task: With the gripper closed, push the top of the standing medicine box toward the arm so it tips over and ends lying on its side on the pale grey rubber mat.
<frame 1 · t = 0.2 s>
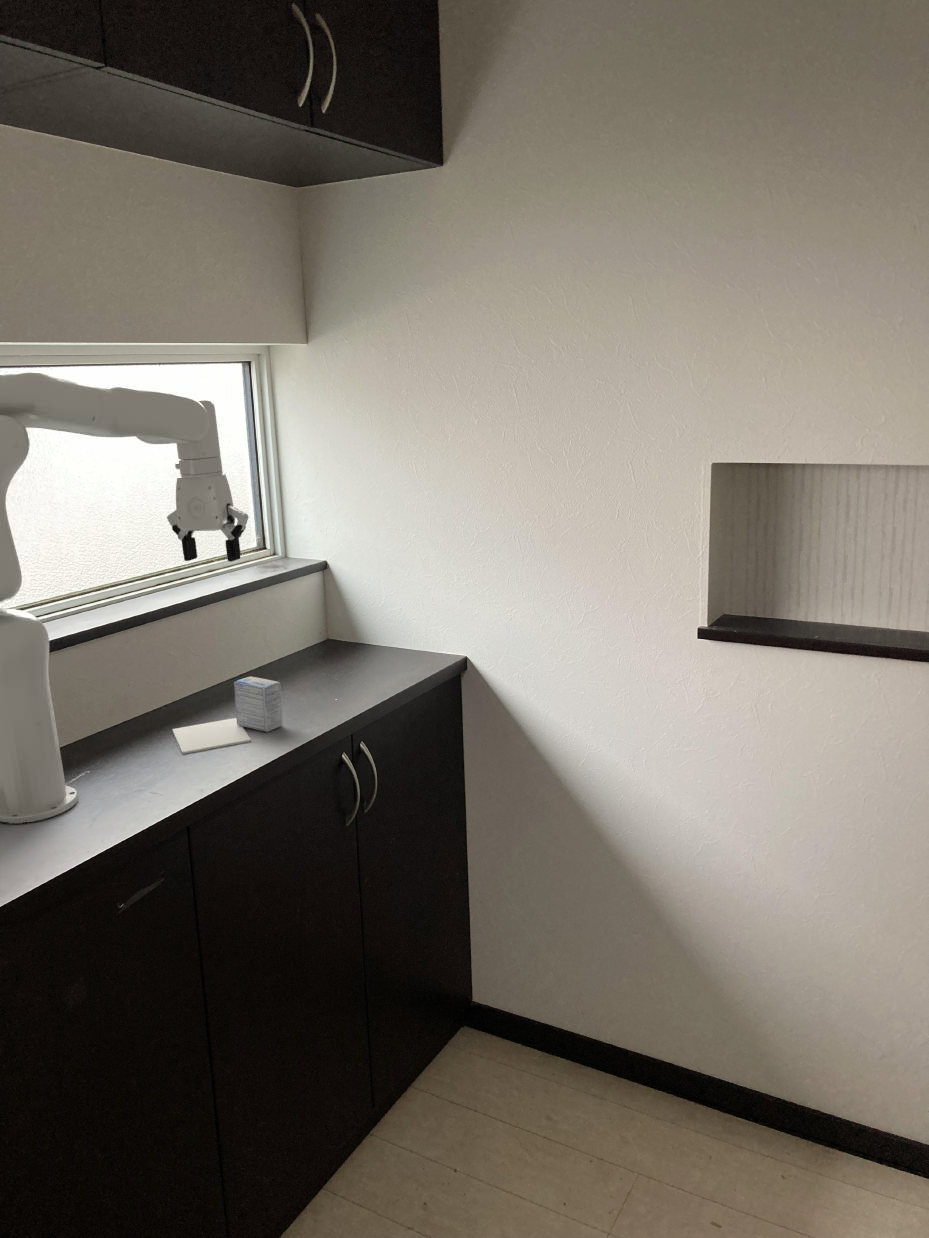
hand: (212, 559, 191), 31 cm above the worktop, tool pointing down, fingers open, 9 cm apart
medicine box: (259, 727, 190), on the worktop, touching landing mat
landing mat: (211, 736, 187), on the worktop
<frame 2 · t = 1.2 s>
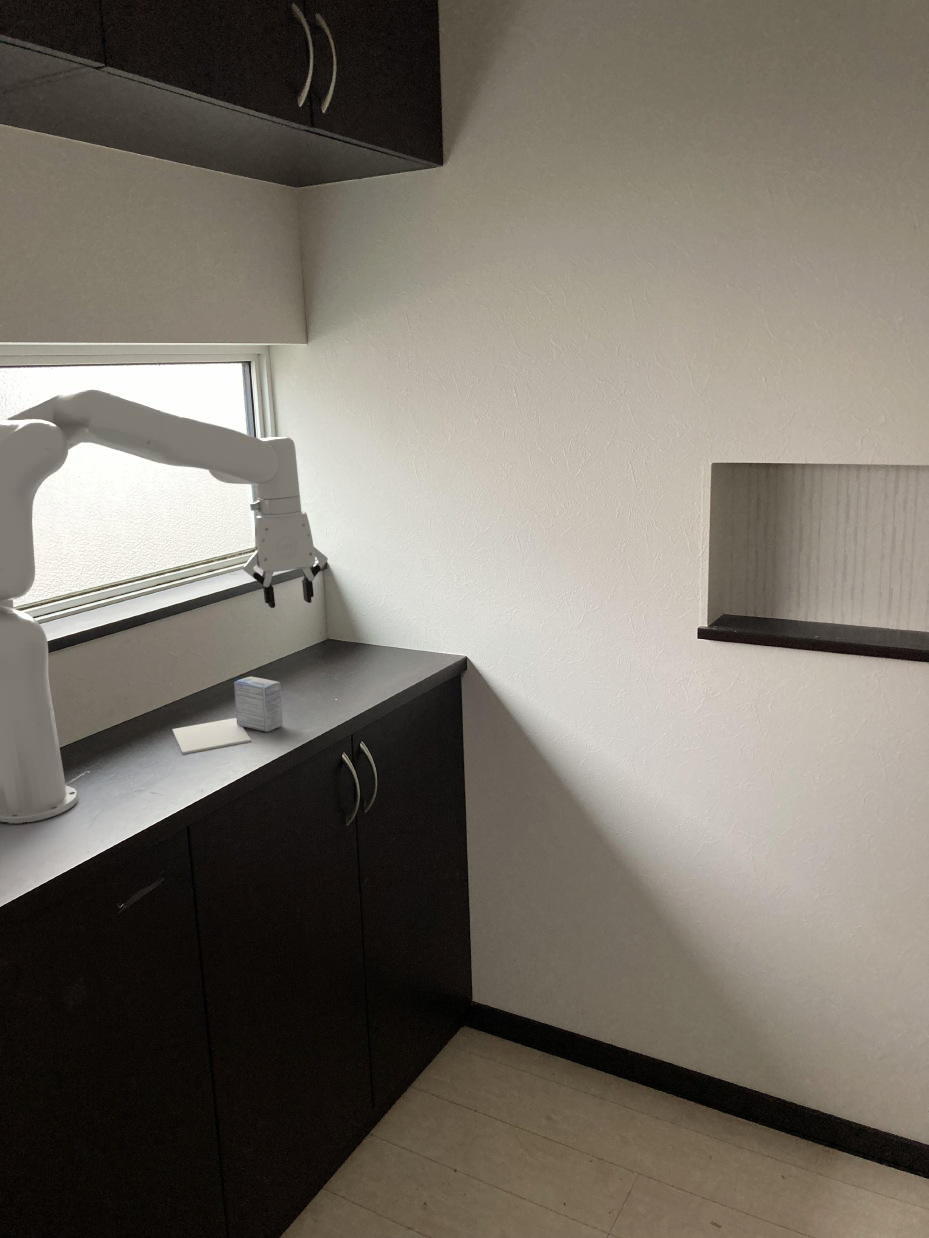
hand: (289, 603, 188), 23 cm above the worktop, tool pointing down, fingers open, 6 cm apart
nothing on the worktop moved.
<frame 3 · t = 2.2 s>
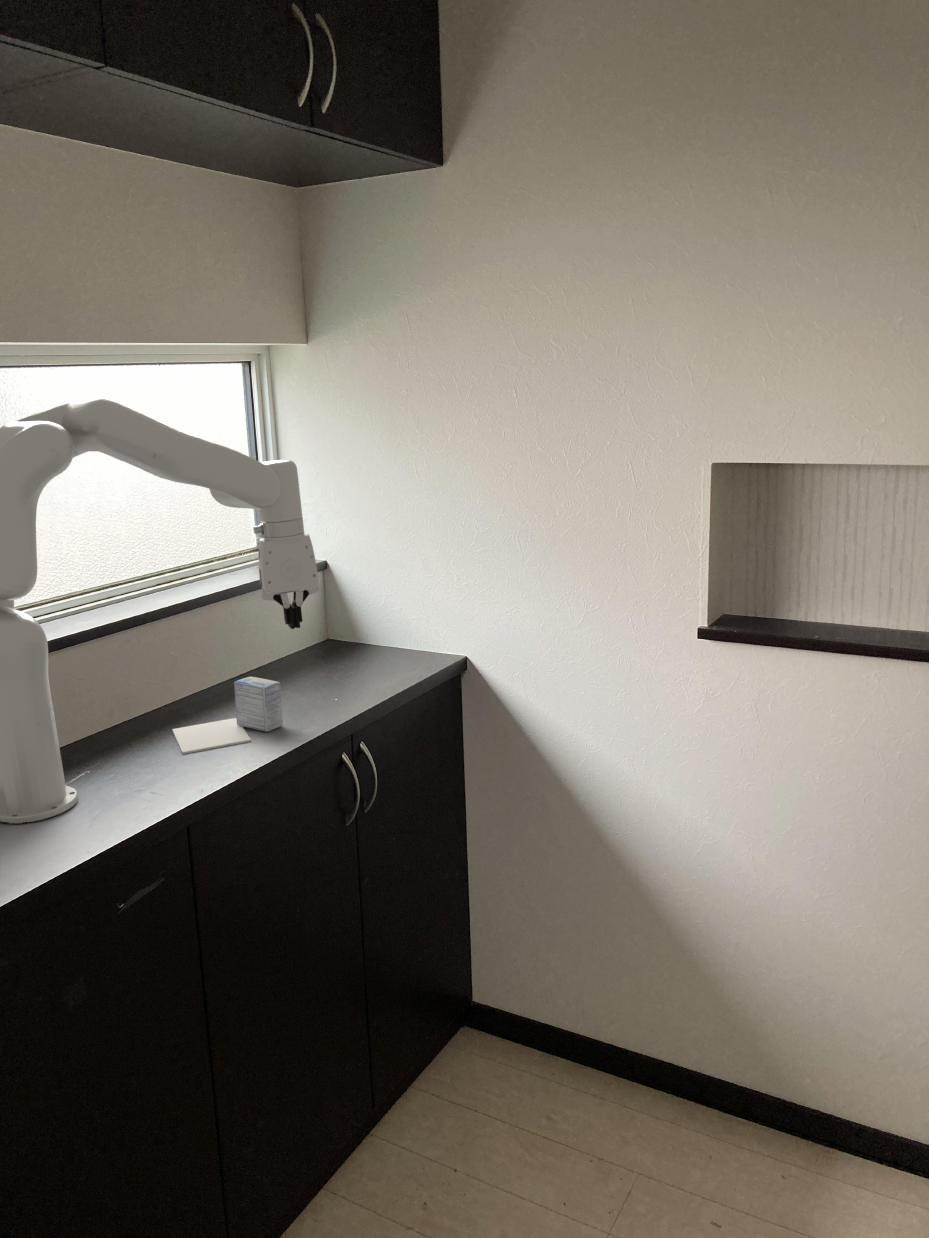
hand: (294, 626, 189), 18 cm above the worktop, tool pointing down, fingers closed
nothing on the worktop moved.
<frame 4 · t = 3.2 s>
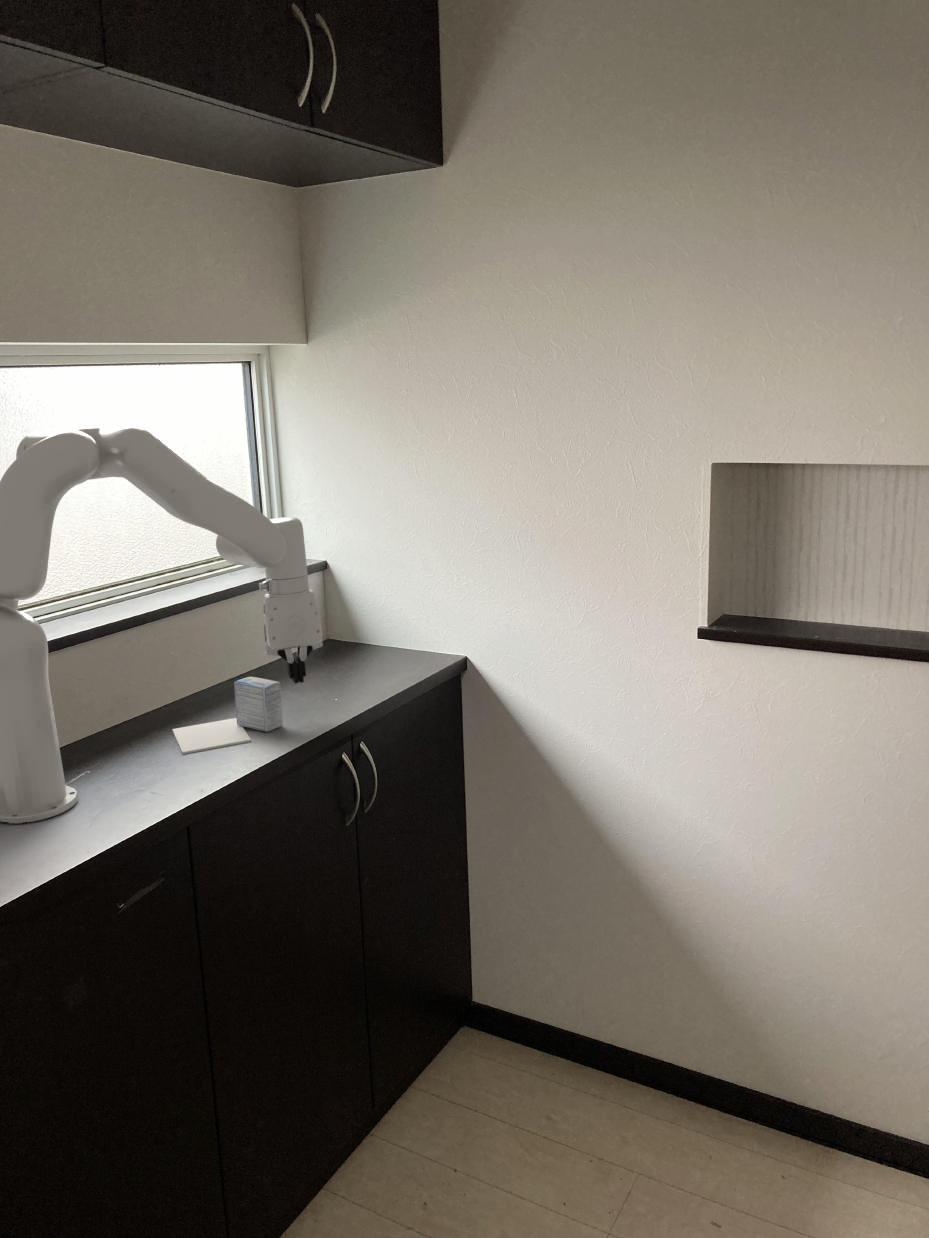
hand: (297, 680, 191), 8 cm above the worktop, tool pointing down, fingers closed
nothing on the worktop moved.
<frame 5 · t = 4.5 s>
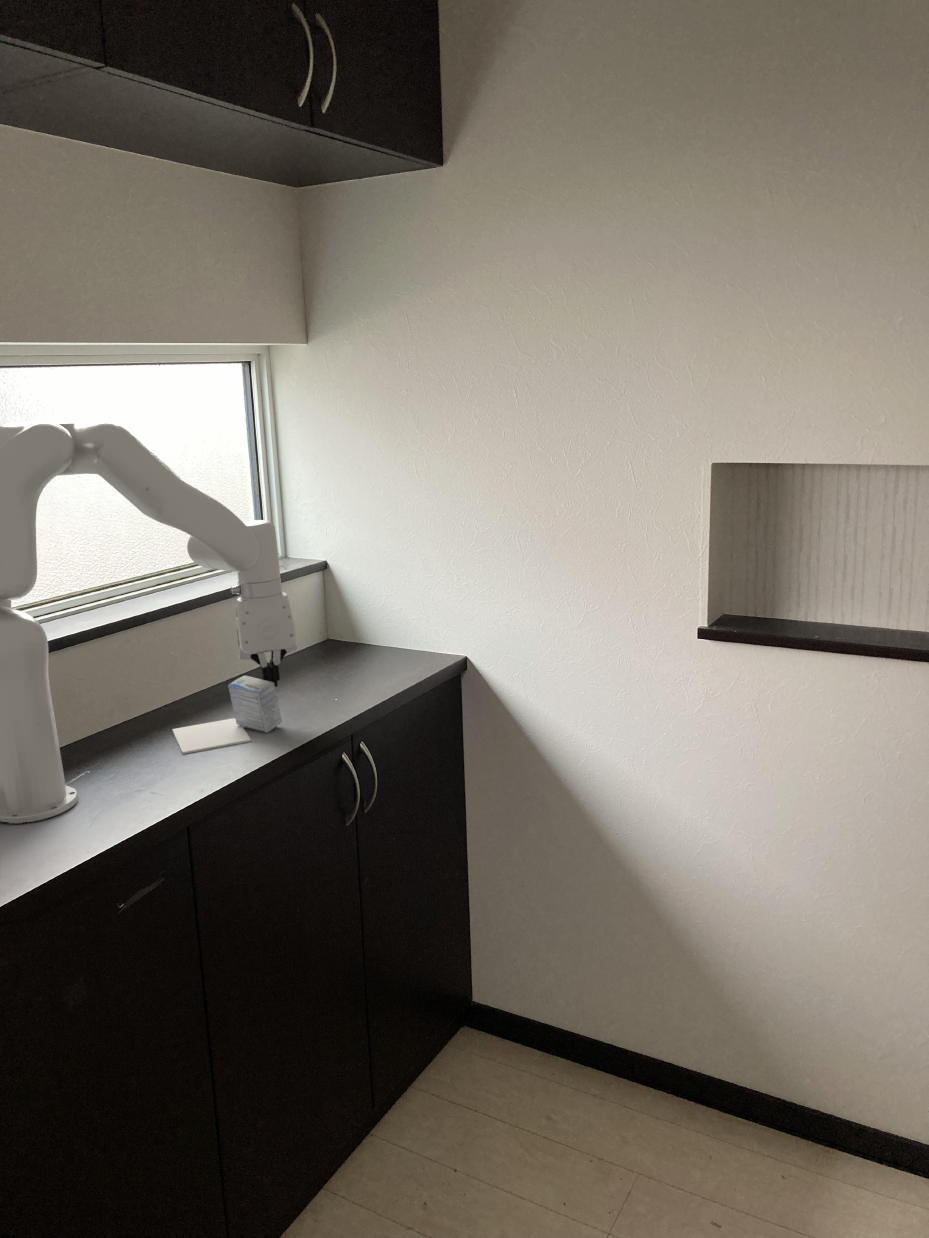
hand: (271, 685, 190), 8 cm above the worktop, tool pointing down, fingers closed
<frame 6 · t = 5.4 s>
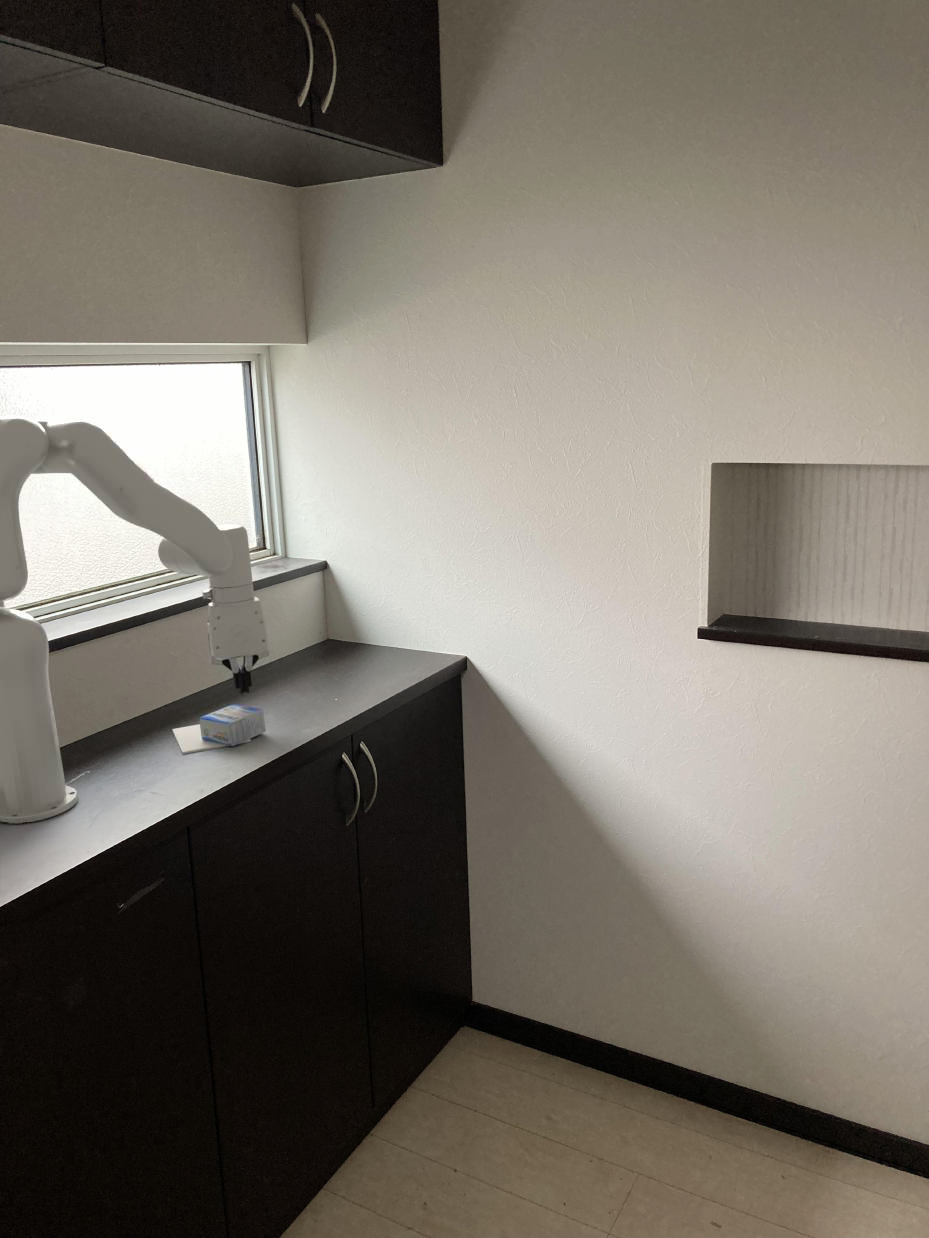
hand: (243, 691, 188), 7 cm above the worktop, tool pointing down, fingers closed
medicine box: (250, 717, 188), point 3 cm above the worktop, touching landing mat
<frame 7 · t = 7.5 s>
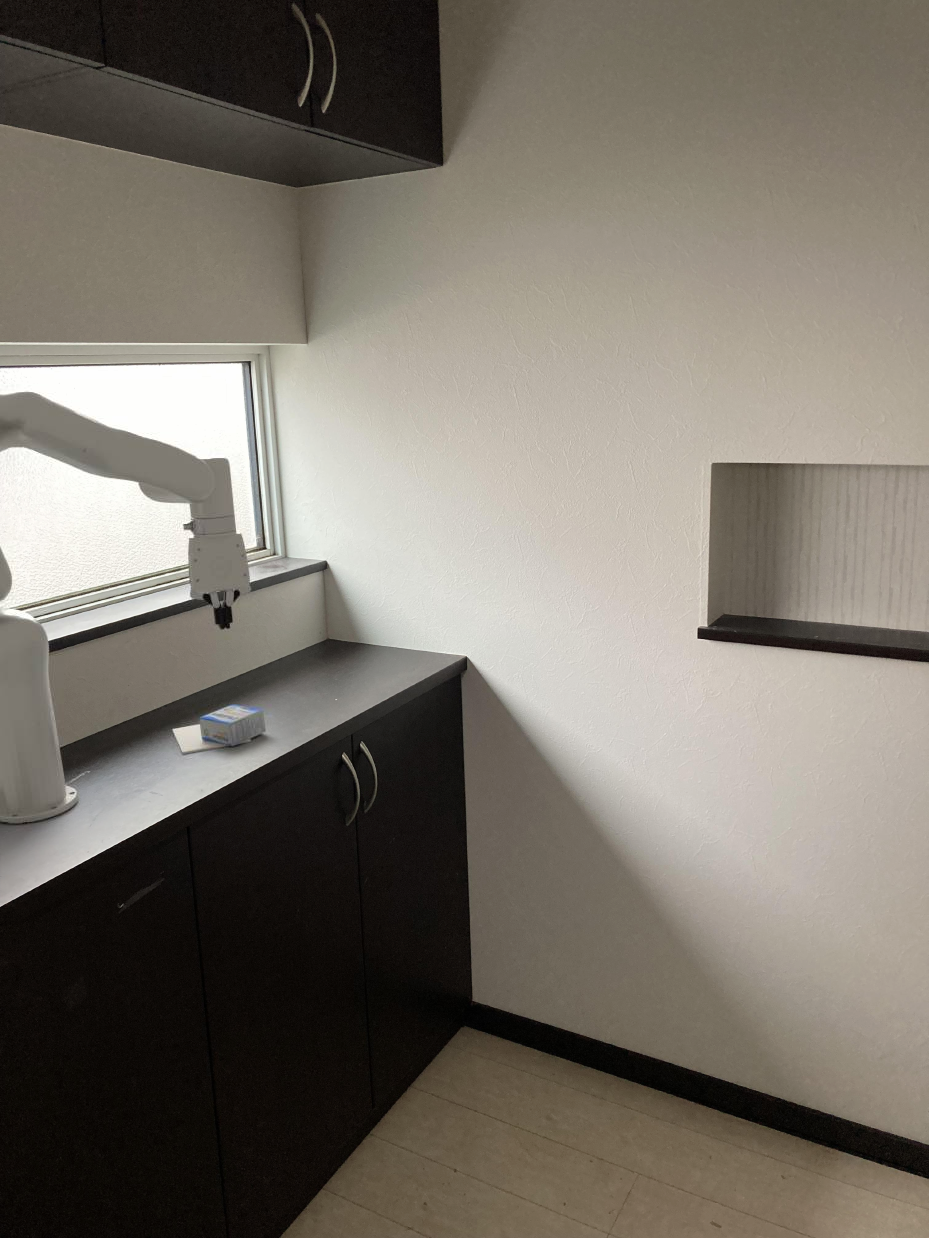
hand: (224, 627, 184), 20 cm above the worktop, tool pointing down, fingers closed
nothing on the worktop moved.
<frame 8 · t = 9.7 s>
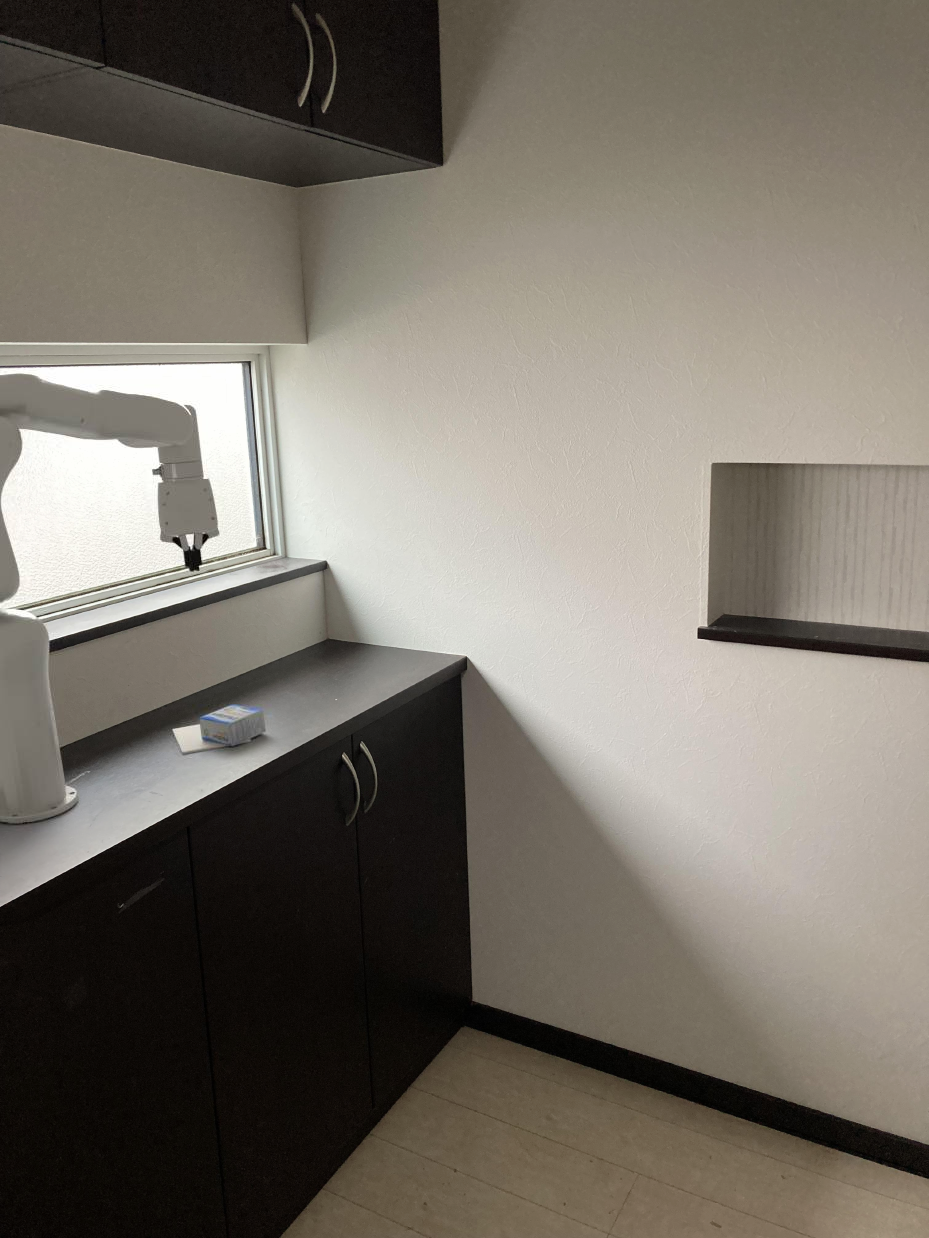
hand: (194, 570, 191), 29 cm above the worktop, tool pointing down, fingers closed
nothing on the worktop moved.
at the end: medicine box tilted 89°; medicine box touching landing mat; medicine box inside the target area (1.7 cm from its centre), point 2.6 cm above the worktop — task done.
